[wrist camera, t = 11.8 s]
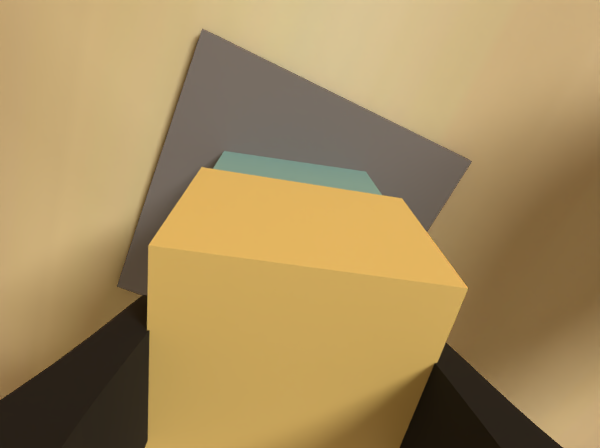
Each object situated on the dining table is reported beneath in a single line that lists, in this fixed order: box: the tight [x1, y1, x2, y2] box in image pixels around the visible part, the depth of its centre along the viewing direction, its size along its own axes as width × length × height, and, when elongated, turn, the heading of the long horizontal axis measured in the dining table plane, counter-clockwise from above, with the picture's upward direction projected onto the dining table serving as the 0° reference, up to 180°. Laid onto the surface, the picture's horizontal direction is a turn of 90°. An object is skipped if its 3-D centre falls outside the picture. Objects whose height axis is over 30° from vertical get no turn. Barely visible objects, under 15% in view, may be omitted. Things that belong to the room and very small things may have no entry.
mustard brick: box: [145, 167, 468, 448], centre depth 9 cm, size 5×5×4 cm
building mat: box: [117, 29, 472, 295], centre depth 15 cm, size 10×10×1 cm
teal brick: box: [213, 151, 382, 195], centre depth 13 cm, size 5×5×4 cm
